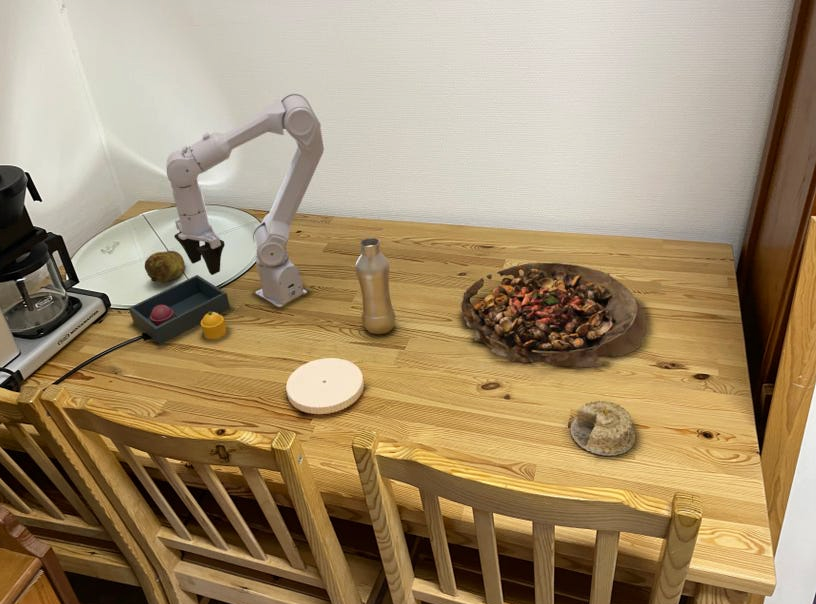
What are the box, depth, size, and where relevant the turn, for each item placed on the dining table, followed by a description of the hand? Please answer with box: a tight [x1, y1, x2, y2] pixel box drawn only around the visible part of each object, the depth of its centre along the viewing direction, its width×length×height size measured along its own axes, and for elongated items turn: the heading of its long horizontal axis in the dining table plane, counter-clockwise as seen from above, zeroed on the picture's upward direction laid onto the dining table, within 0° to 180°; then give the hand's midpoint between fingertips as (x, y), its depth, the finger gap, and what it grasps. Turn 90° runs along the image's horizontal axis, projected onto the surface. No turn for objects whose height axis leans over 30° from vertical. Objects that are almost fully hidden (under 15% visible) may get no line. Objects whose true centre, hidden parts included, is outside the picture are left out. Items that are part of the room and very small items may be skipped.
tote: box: [128, 274, 231, 346], centre depth 158 cm, size 12×17×5 cm
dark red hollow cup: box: [150, 305, 175, 326], centre depth 155 cm, size 5×5×5 cm
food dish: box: [460, 262, 648, 369], centre depth 141 cm, size 35×33×8 cm
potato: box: [144, 250, 186, 283], centre depth 173 cm, size 8×13×8 cm, turn 154°
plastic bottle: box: [354, 237, 397, 335], centre depth 142 cm, size 6×7×20 cm
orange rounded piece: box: [200, 311, 228, 340], centre depth 151 cm, size 5×5×6 cm
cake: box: [569, 400, 636, 457], centre depth 114 cm, size 10×10×5 cm
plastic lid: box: [285, 357, 365, 415], centre depth 132 cm, size 14×14×2 cm
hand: (205, 267), depth 156 cm, fingers open, 7 cm apart
